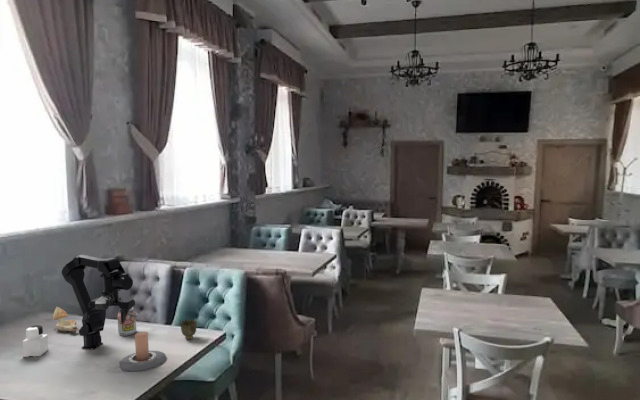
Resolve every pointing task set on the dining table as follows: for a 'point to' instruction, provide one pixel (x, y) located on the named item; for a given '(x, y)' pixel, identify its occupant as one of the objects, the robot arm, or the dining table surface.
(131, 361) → the metal collar
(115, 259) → the robot arm
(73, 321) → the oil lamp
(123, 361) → the charcoal plate
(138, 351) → the terracotta peg
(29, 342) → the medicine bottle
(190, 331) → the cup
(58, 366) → the dining table surface
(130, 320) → the decorated jar
